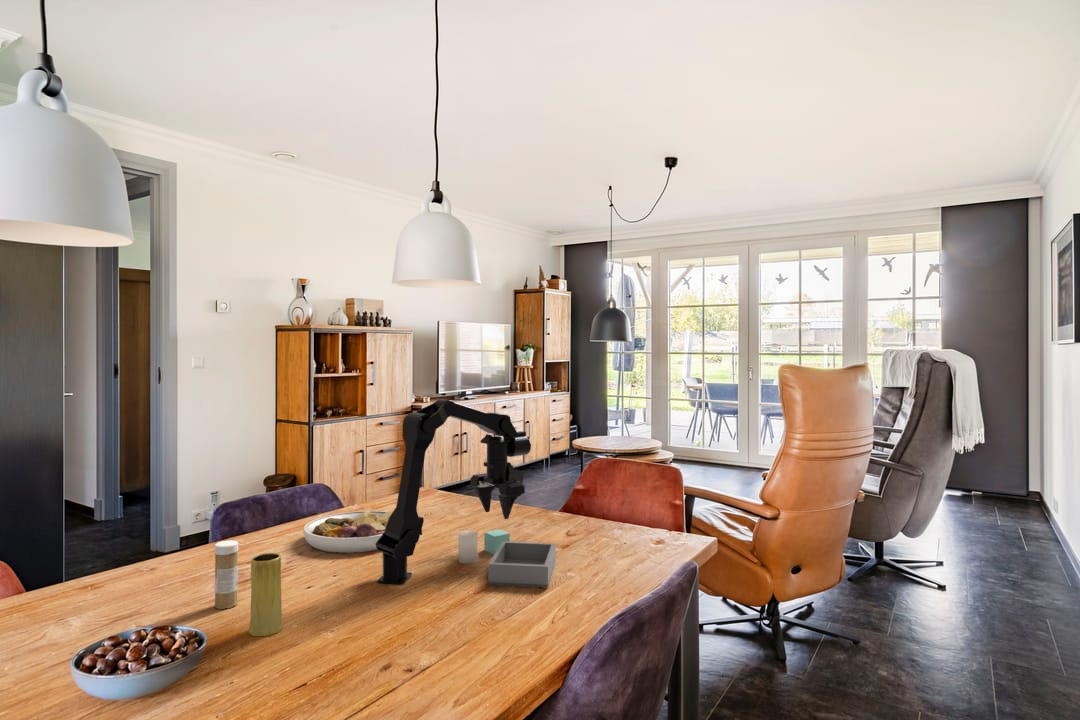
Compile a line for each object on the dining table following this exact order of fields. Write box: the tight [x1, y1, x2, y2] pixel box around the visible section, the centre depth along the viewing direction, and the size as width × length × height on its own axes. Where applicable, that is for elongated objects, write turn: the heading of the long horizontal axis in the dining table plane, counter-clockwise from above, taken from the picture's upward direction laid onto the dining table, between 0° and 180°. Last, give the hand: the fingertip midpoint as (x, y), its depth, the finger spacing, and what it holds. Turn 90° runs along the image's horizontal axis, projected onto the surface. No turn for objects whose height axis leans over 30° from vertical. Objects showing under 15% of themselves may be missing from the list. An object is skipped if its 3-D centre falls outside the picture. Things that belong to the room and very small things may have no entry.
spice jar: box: [213, 539, 239, 610], centre depth 132 cm, size 5×5×14 cm
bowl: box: [303, 510, 393, 554], centre depth 181 cm, size 30×30×8 cm
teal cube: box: [483, 528, 511, 555], centre depth 171 cm, size 5×5×5 cm
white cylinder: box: [457, 530, 479, 564], centre depth 163 cm, size 5×5×7 cm
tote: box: [487, 541, 557, 588], centre depth 153 cm, size 18×14×5 cm
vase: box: [248, 552, 284, 637], centre depth 120 cm, size 6×6×14 cm
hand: (496, 515), depth 171 cm, fingers open, 9 cm apart
